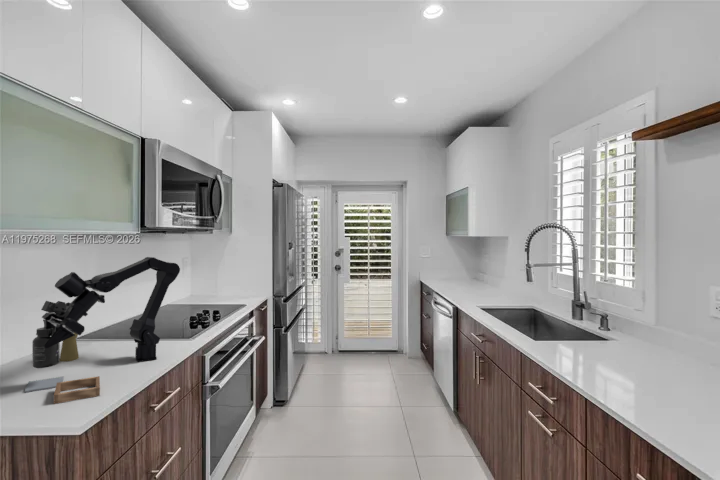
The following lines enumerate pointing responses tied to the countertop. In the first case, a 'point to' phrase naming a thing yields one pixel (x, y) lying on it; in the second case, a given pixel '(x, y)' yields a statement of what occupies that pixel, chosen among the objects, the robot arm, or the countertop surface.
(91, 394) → the walnut holder
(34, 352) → the supplement bottle
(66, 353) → the cork
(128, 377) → the countertop surface
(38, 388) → the slate mat
